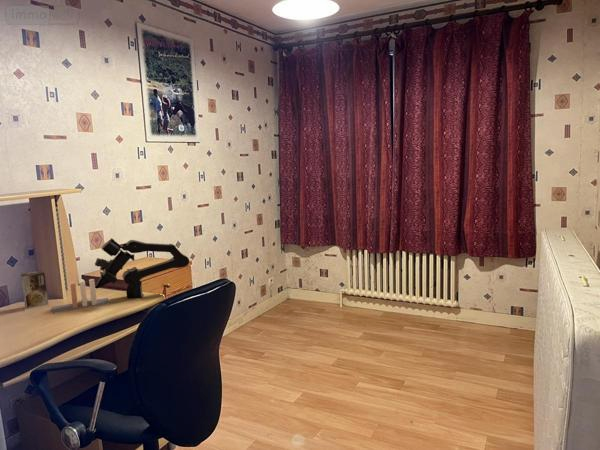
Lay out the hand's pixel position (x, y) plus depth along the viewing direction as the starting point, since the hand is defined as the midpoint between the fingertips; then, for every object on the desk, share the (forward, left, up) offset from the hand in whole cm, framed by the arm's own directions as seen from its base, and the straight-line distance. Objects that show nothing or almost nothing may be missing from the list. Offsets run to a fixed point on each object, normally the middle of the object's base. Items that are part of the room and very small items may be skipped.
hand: (95, 288), depth 209 cm
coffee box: (+28, -2, -8) cm, 29 cm away
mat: (+6, +3, -8) cm, 10 cm away
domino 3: (+1, 0, -7) cm, 7 cm away
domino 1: (+9, +3, -7) cm, 12 cm away
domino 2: (+5, +2, -7) cm, 9 cm away
